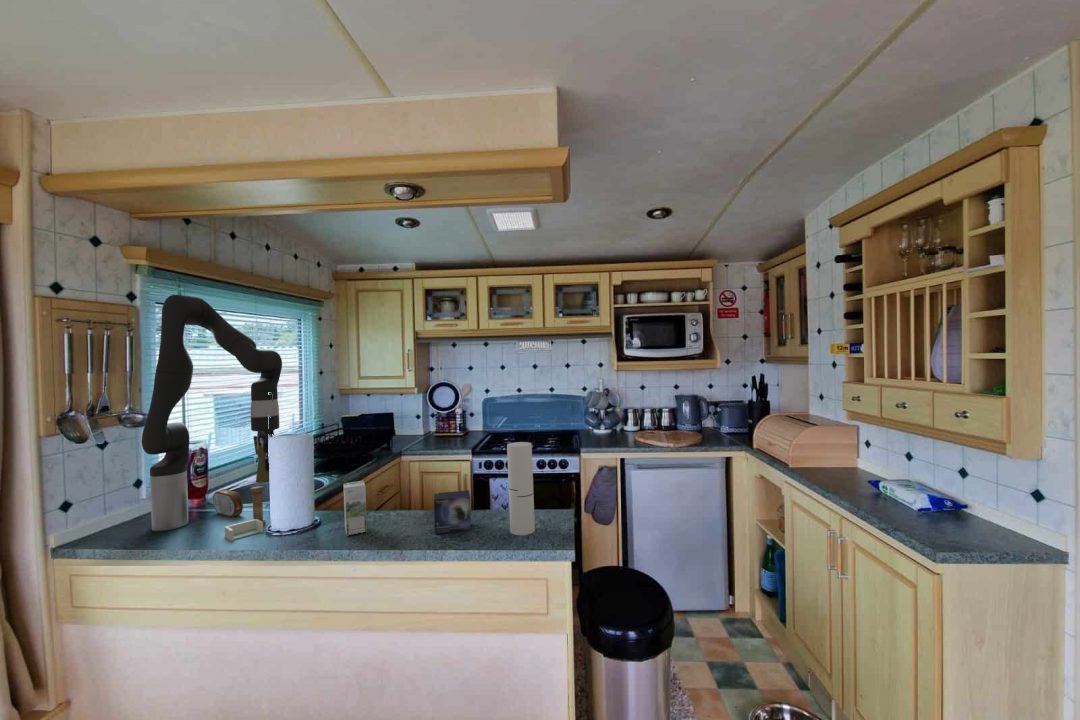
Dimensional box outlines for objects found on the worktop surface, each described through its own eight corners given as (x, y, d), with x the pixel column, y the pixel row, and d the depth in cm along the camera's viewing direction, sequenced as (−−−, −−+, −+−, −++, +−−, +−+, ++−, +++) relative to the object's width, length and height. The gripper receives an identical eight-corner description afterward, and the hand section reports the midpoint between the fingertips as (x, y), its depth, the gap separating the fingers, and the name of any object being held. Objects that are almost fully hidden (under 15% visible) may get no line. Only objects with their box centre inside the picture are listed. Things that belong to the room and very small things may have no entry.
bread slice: (244, 516, 154) (243, 491, 154) (234, 519, 151) (233, 494, 151) (221, 510, 161) (220, 487, 161) (211, 513, 158) (210, 489, 158)
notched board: (224, 536, 135) (224, 526, 135) (256, 528, 141) (256, 518, 141) (230, 541, 131) (230, 530, 131) (263, 531, 138) (263, 522, 138)
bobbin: (249, 526, 144) (247, 488, 144) (263, 522, 147) (261, 485, 147) (253, 528, 141) (252, 490, 141) (267, 524, 144) (266, 487, 144)
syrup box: (364, 526, 139) (363, 479, 139) (367, 533, 134) (365, 484, 134) (344, 530, 136) (343, 482, 136) (346, 537, 131) (344, 487, 131)
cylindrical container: (517, 524, 135) (514, 441, 136) (539, 527, 132) (535, 442, 132) (505, 533, 129) (502, 445, 129) (527, 536, 126) (524, 447, 126)
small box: (434, 535, 129) (433, 499, 130) (434, 527, 136) (433, 493, 136) (471, 531, 132) (470, 495, 132) (469, 523, 138) (468, 489, 138)
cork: (268, 483, 136) (267, 446, 136) (250, 482, 137) (249, 446, 137) (283, 477, 142) (282, 442, 142) (266, 477, 143) (265, 442, 143)
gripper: (243, 414, 141) (244, 469, 141) (260, 417, 132) (262, 475, 132) (269, 412, 147) (270, 464, 147) (287, 414, 138) (289, 470, 138)
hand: (266, 469), depth 140 cm, fingers closed on cork, 4 cm apart
